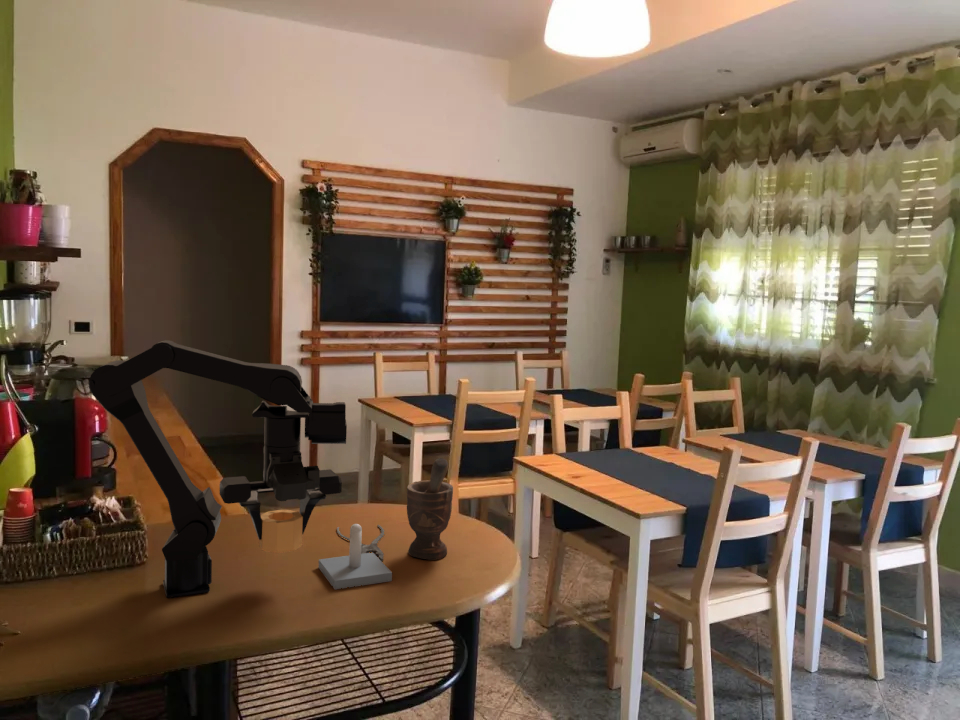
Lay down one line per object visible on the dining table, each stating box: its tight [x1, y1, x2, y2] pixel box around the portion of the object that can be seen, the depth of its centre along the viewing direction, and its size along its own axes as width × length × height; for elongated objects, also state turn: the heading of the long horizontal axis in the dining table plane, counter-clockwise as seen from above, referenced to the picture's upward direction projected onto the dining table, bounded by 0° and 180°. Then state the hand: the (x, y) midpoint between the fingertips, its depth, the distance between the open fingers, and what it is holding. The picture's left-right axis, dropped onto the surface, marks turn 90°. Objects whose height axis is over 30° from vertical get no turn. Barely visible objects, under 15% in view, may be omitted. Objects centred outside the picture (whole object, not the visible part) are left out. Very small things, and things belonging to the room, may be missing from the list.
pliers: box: [336, 524, 385, 561], centre depth 147 cm, size 10×1×20 cm
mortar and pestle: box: [406, 457, 454, 561], centre depth 140 cm, size 12×9×20 cm
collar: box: [258, 509, 303, 554], centre depth 124 cm, size 6×6×5 cm
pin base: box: [318, 523, 393, 590], centre depth 130 cm, size 10×10×9 cm
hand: (280, 536), depth 124 cm, fingers closed on collar, 6 cm apart
